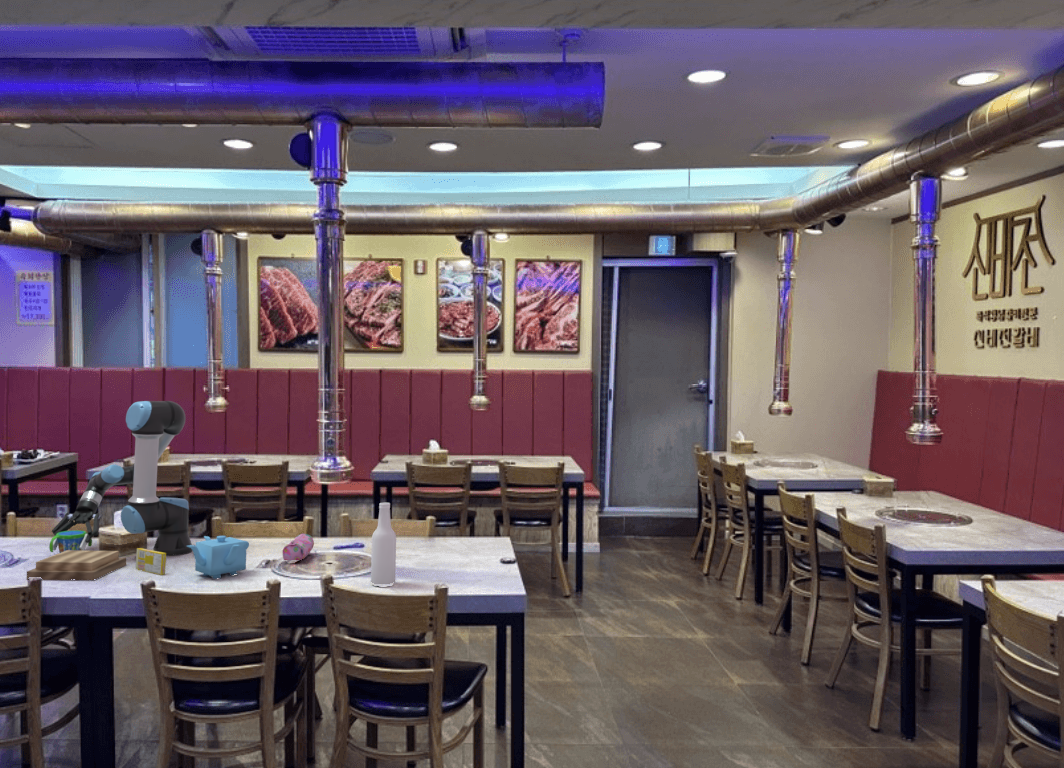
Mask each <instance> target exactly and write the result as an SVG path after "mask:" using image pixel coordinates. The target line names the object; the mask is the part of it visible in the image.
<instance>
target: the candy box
mask: <svg viewBox="0 0 1064 768" xmlns="http://www.w3.org/2000/svg"><path fill="white" fill-rule="evenodd" d="M135 558H136V559H135V570H136V569H138V570H137V571H140V570H142V571H141V572H146V573H150V574H154V575H158V576H163V575H164V576H165V575H166V565H167V564H166V563H167V556H166V553H163V552H158V551H153V549H148V548H143V547H140V548H138V547H137V548H136V557H135Z"/></svg>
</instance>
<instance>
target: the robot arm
mask: <svg viewBox="0 0 1064 768" xmlns="http://www.w3.org/2000/svg"><path fill="white" fill-rule="evenodd" d="M125 423H126V427H127V428H128V429H129V430H130V431H131V434H132V436H133V437H135V444H134V461H133V462H134V463H133V464H132V465H129V466H120V465H118V464H114V463H113V464H110V465H108V466H107V467H105V468H104V469H103V470H101V471H96V472H94V473H93V474H92V476H91V477H90V479H89V481H88V483H87V485H86V487H85V490H84V492H83V494H82V496H81V497H80V499H79V501H78V504H77V506H76V508H75V511H74V512H73V513H69V512H66V513H65V515H64V516H63V518H61V520H60V521H59V522H58V523H57V524H56V525H55V527H54V528H53V529H52V530H51V533H52V534H53V535H54V536H56V534H57V533H59V532H63V531H70V529H71V528H72V527H74V526H76V525H85V527H86V530H87V531H86V532H87V533H88V534H85V536H84V538H83V540H82V543H81V545H80V549H81V550H82V551H85V549H86V547H87V545H88V543H89V542H90V540H91V538H92V539H93V537H94V536H99V533H100V520H101V519H102V516H101V515H100V513H98V512H97V510H98V508H99V507H100V504H101V501H102V500H103V497H104V495H105V494H106V493H107V491H108V490H109V489H110V488H112V487H113V486H117V485H118V486H121V485H128V484H132V496H131V497H130V498H129V499H128V500H127V505H125V506H123V507H122V509H121V511H120V520H121V525H122V526H123V528H124V529H125V531H127V532H128V533H129V534H134V535H135V534H143V533H148V532H156V531H158V532H157V537H156V540H155V542H154V545H153V549H152V550H153V551H158V552H163V553H166V557H168V556H180V555H184V554H185V555H186V554H189V552H190V553H191V552H193V550H192V549H191V548H189V547H187V546H189V545H193V544H192V542H191V538H190V535H189V510H190V508H189V507H190V506H189V501H188V499H186V498H178V497H160V498H159V497H158V496H157V483H158V482H157V481H158V478H157V477H158V461H159V459H160V458H161V456H162V455H163V454H164V452H165V450H166V449H167V448H168V446H169V445H170V443H171V441H172V440H173V439H174V437H175V436H177V435H179V434H180V433H181V432H182V431H183V428H184V426H185V423H186V413H185V410H184V409H183V407H182V406H181V405H180V404H179V403H177V402H176V401H175V402H174V401H171V400H157V401H156V400H144V401H143V400H141V401H136V402H133V403H132V404H131V406H129V408H128V409H127V412H126V414H125ZM91 520H93V528H92V526H91ZM92 529H93V530H92ZM57 548H58V541H57V538H56V539H55V540H54V541H53V551H56V550H57Z"/></svg>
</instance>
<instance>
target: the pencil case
mask: <svg viewBox="0 0 1064 768" xmlns="http://www.w3.org/2000/svg"><path fill="white" fill-rule="evenodd" d="M314 545H315V540H314V538H313V537H312V535H310V534H307V533H300V534H298V535H297V536H295V537H294V539H293V540H291V541H290V542H289V543H288V544H286V545H284V546H283V549H282V558H283V561H284V560H301V561H303V560H304V559H305V558H306V557H307V556H308V555H309V554H310V552H311V551H312V550H313V548H314ZM302 559H303V560H302Z"/></svg>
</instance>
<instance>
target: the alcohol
mask: <svg viewBox="0 0 1064 768" xmlns="http://www.w3.org/2000/svg"><path fill="white" fill-rule="evenodd" d="M390 508H391V503H390V502H385V501H384V502H380V503H379V506H378V509H379V510H378V511H379V512H378V519H377V528H376V529H375V530H374V531H373V533H372V536H371V557H370V559H371V562H370V566H371V567H370V568H371V569H370V583H371V582H372V583H374V584H390V583H393V582H395V583H396V567H397V566H396V565H397V564H396V563H397V562H396V561H397V559H396V558H397V535H396V532H395V531H394V530H393V528H392V524H391V509H390Z"/></svg>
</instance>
